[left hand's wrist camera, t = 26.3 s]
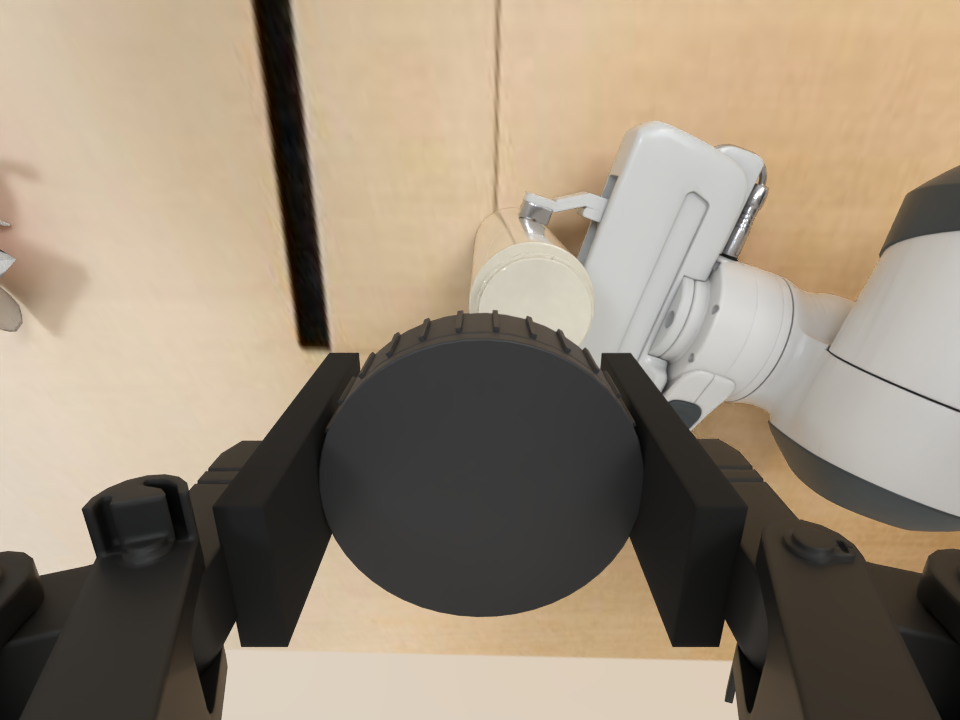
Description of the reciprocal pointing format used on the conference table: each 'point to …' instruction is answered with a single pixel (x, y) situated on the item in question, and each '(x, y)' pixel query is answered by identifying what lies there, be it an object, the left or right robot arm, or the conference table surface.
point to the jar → (530, 276)
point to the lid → (481, 466)
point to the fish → (8, 297)
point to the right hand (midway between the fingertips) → (503, 258)
